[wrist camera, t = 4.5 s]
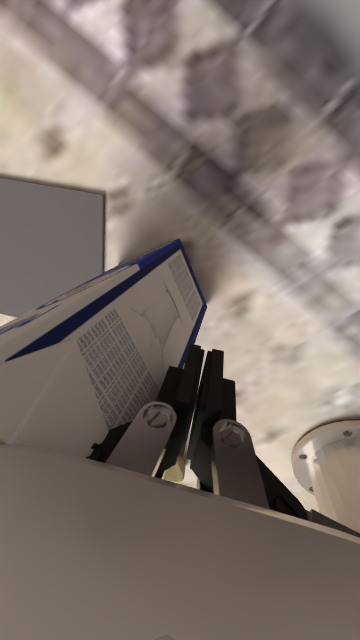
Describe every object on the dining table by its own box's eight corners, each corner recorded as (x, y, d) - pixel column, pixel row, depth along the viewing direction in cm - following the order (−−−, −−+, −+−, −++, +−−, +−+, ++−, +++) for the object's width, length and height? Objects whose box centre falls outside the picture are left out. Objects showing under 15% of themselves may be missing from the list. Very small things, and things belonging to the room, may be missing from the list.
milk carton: (181, 237, 22) (-86, 397, 4) (209, 306, 24) (111, 606, 6) (115, 266, 24) (-224, 442, 7) (146, 326, 26) (-51, 579, 9)
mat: (104, 195, 22) (102, 194, 21) (102, 335, 28) (101, 336, 27) (-113, 158, 24) (-118, 158, 24) (-71, 295, 30) (-74, 296, 30)
